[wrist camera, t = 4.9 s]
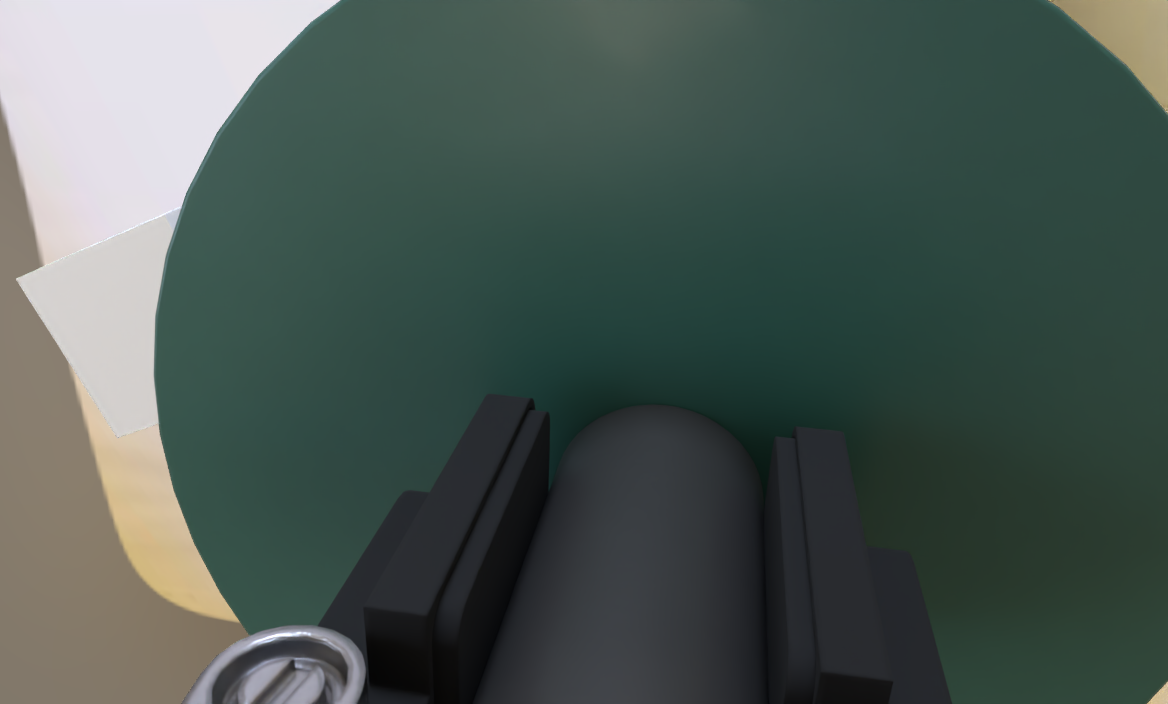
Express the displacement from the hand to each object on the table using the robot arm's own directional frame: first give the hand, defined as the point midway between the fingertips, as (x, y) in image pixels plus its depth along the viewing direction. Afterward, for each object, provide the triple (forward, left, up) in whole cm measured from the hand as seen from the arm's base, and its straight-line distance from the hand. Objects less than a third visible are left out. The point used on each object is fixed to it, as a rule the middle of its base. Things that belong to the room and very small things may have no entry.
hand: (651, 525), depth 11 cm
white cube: (+17, +5, -21) cm, 28 cm away
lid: (0, 0, -1) cm, 1 cm away
